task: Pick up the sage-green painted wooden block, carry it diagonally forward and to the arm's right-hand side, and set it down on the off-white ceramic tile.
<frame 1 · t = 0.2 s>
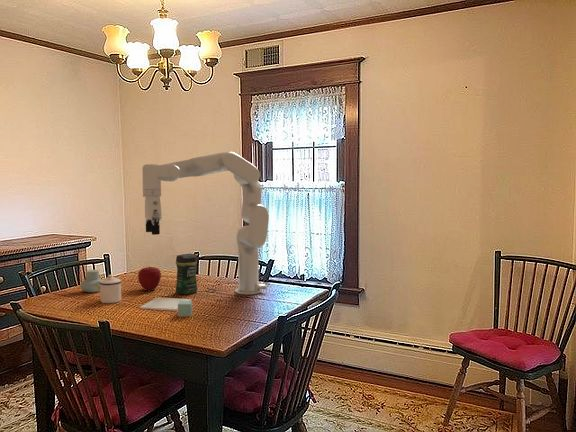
hand: (152, 233, 215), 31 cm above the table, tool pointing down, fingers open, 9 cm apart
block: (185, 314, 201), on the table
teacup with lid: (108, 301, 222), on the table
coffee jar: (186, 293, 237), on the table
tile: (166, 304, 216), on the table
apple: (150, 289, 243), on the table
air freshener: (92, 291, 239), on the table
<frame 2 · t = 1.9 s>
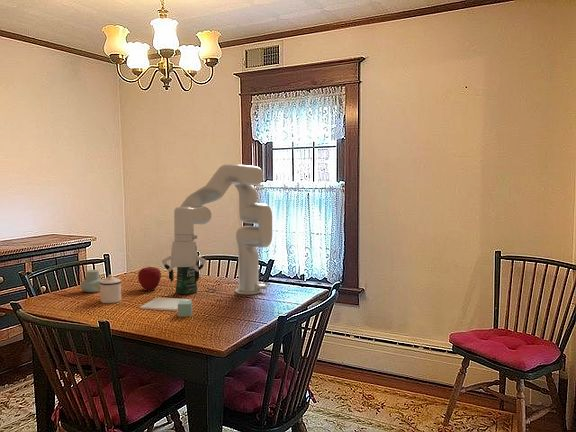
hand: (184, 280, 199), 14 cm above the table, tool pointing down, fingers open, 9 cm apart
nothing on the table moved.
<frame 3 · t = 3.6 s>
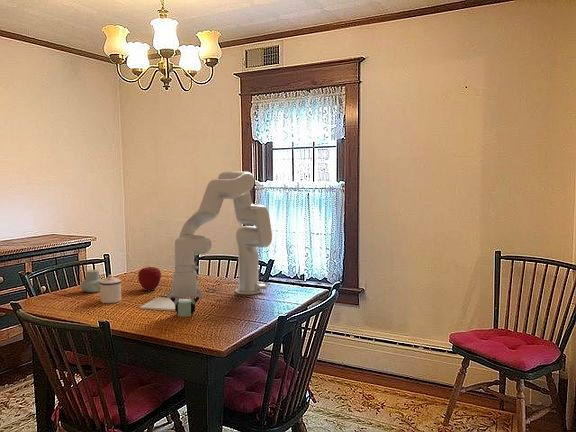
hand: (185, 312, 201), 1 cm above the table, tool pointing down, fingers closed on block, 5 cm apart
block: (185, 314, 201), on the table, touching gripper
everything else where it was.
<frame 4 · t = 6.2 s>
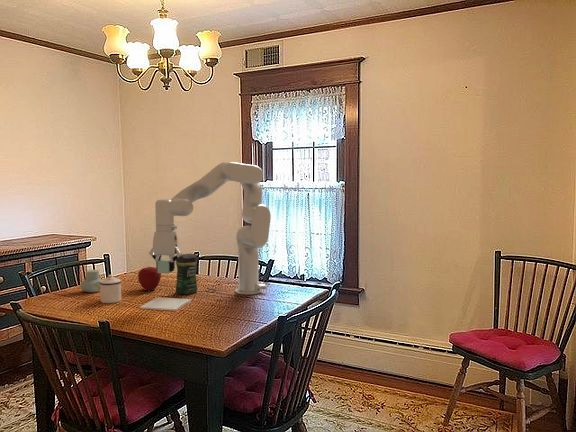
hand: (165, 270, 214), 15 cm above the table, tool pointing down, fingers closed on block, 5 cm apart
block: (165, 272, 214), point 14 cm above the table, touching gripper
everything else where it was.
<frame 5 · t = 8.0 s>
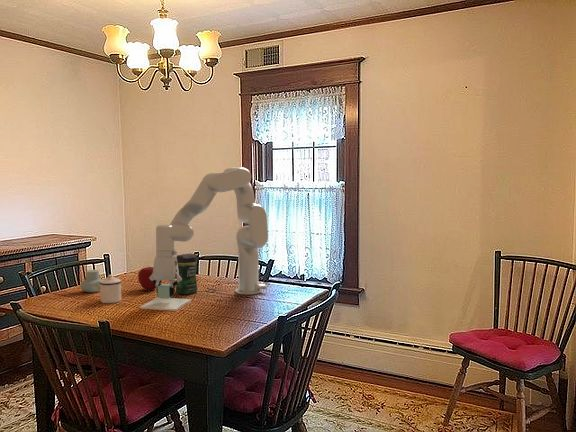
hand: (165, 295, 215), 4 cm above the table, tool pointing down, fingers closed on block, 5 cm apart
block: (165, 296, 215), point 3 cm above the table, touching gripper
everything else where it was.
when the fingers open (3 cm above the table, at t = 9.1 s): block drops 1 cm, resting on tile.
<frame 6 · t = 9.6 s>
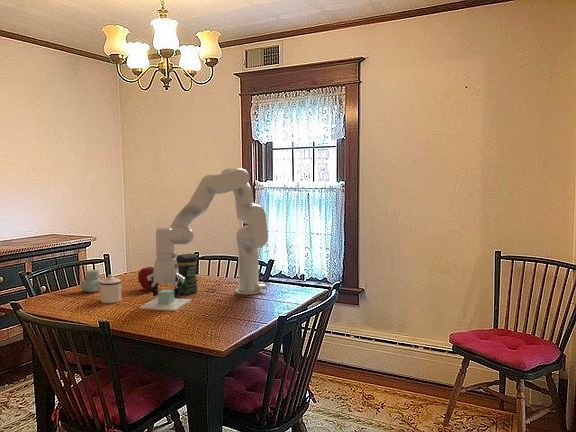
hand: (166, 296, 215), 4 cm above the table, tool pointing down, fingers open, 9 cm apart
block: (166, 302, 215), point 1 cm above the table, touching tile
everything else where it was.
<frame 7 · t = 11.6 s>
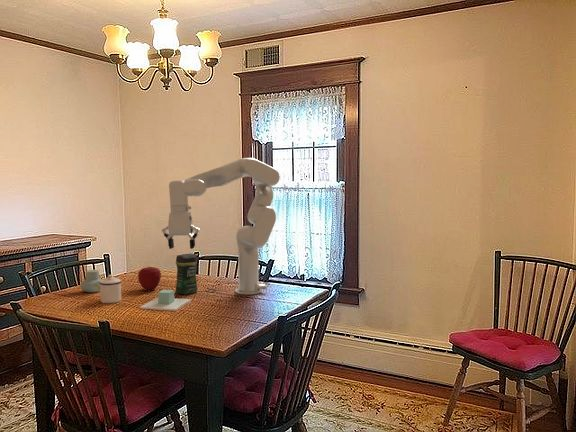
hand: (181, 248, 218), 24 cm above the table, tool pointing down, fingers open, 9 cm apart
nothing on the table moved.
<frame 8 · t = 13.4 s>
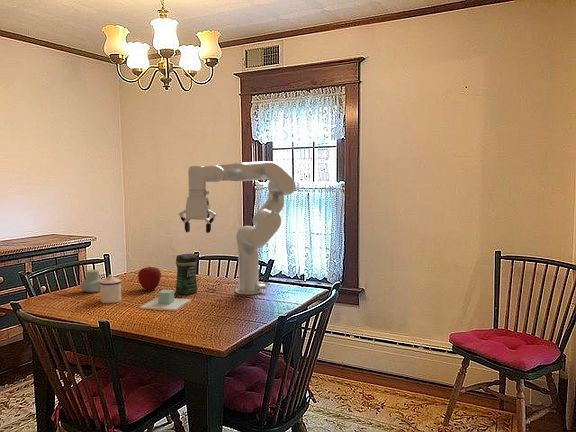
hand: (197, 232, 223), 30 cm above the table, tool pointing down, fingers open, 9 cm apart
nothing on the table moved.
at the end: block inside the target area on the tile (0.1 cm from its centre), point 0.9 cm above the tile's base; block tilted 0°; the gripper is holding nothing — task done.
